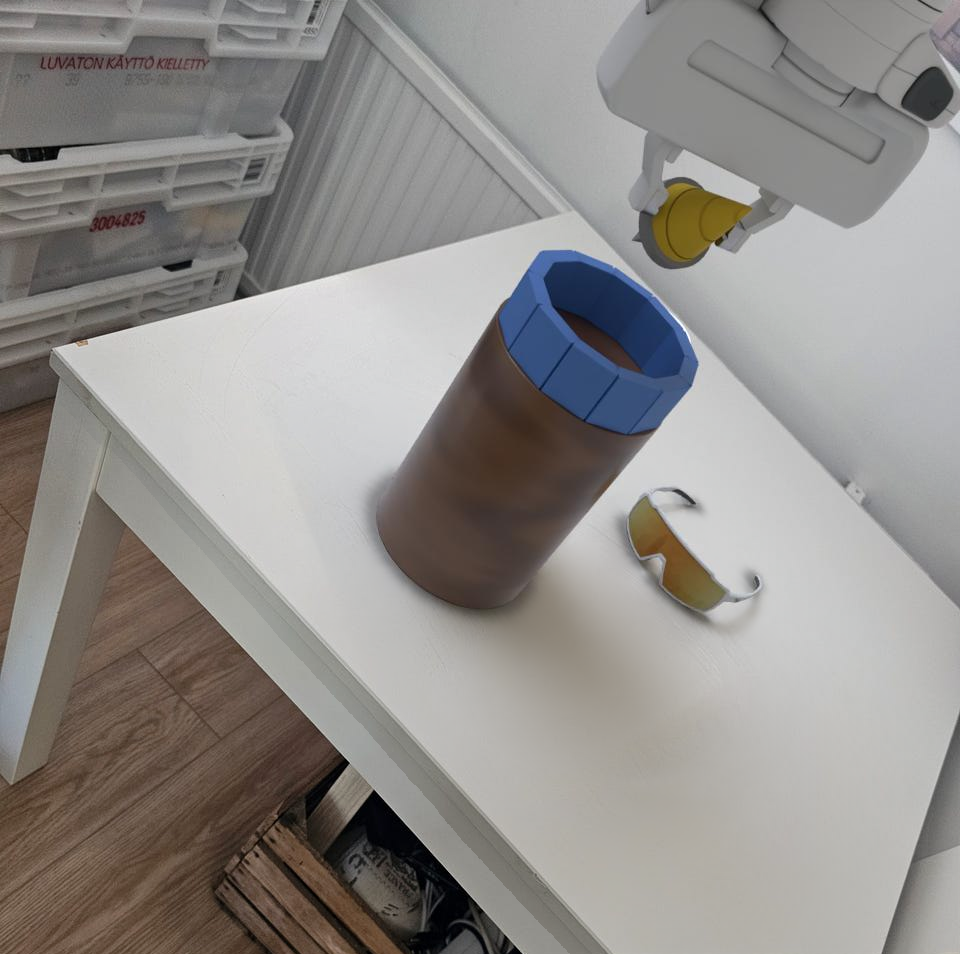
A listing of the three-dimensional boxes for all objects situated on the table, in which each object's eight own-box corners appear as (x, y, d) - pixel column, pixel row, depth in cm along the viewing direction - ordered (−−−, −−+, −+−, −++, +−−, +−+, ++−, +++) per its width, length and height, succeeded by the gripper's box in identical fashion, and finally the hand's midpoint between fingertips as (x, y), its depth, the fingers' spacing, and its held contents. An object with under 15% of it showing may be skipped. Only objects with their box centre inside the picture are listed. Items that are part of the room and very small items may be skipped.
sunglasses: (598, 517, 98) (632, 481, 95) (669, 502, 110) (701, 470, 107) (691, 633, 95) (730, 600, 92) (754, 606, 106) (790, 575, 104)
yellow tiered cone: (685, 256, 70) (795, 238, 62) (625, 285, 68) (730, 271, 60) (664, 174, 68) (774, 145, 59) (601, 203, 66) (706, 176, 58)
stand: (386, 592, 79) (517, 404, 65) (367, 460, 87) (481, 268, 73) (540, 622, 86) (688, 457, 72) (510, 497, 93) (638, 327, 80)
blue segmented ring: (520, 402, 66) (553, 354, 63) (485, 272, 73) (513, 225, 70) (683, 452, 72) (720, 412, 69) (636, 328, 80) (667, 287, 77)
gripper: (708, -55, 49) (554, 196, 58) (983, 117, 59) (813, 308, 68) (672, -110, 52) (532, 135, 62) (937, 62, 62) (782, 250, 71)
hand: (681, 227), depth 65 cm, fingers closed on yellow tiered cone, 5 cm apart
